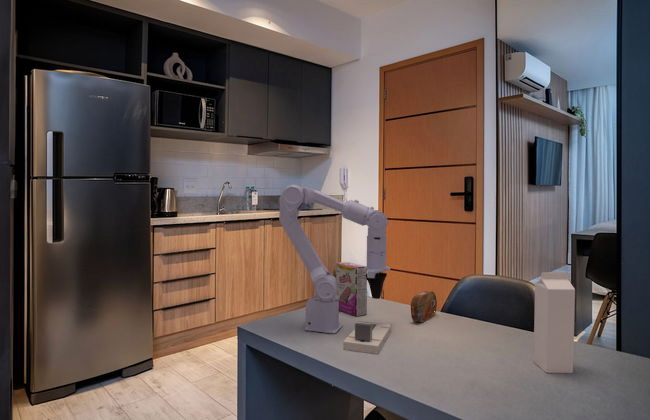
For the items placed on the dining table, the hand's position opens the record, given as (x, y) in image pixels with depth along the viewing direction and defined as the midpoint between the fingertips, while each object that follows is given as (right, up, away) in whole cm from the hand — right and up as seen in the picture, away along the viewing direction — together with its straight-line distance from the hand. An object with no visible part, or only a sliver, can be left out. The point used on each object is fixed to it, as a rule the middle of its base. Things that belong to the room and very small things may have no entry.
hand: (376, 298), depth 120 cm
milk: (+37, -11, -26) cm, 47 cm away
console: (-3, -10, -8) cm, 13 cm away
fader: (-5, -7, -14) cm, 16 cm away
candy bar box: (-6, -9, +18) cm, 21 cm away
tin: (+17, -9, +11) cm, 22 cm away
